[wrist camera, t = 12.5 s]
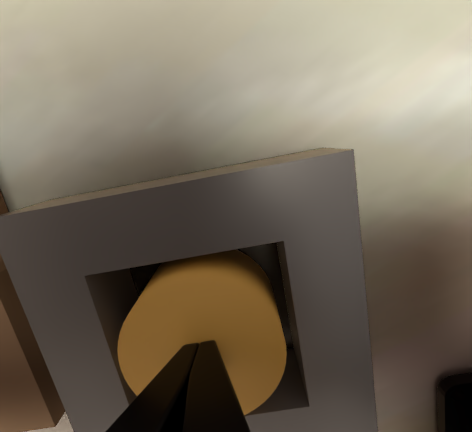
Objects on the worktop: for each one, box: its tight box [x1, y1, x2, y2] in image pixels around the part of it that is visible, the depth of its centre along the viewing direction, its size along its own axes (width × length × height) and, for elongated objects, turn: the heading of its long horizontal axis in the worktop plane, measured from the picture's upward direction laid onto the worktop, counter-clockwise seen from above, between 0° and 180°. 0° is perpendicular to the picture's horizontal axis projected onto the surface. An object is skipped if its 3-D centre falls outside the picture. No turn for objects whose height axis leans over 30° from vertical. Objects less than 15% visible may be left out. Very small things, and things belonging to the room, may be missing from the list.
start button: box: [117, 250, 287, 415], centre depth 9 cm, size 4×4×2 cm
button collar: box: [0, 148, 378, 432], centre depth 9 cm, size 9×9×2 cm
